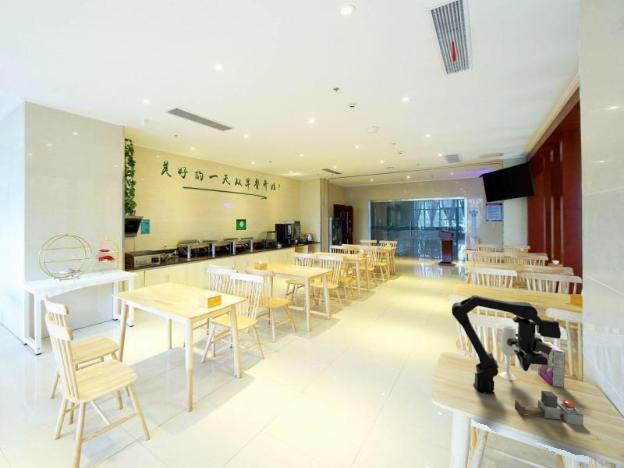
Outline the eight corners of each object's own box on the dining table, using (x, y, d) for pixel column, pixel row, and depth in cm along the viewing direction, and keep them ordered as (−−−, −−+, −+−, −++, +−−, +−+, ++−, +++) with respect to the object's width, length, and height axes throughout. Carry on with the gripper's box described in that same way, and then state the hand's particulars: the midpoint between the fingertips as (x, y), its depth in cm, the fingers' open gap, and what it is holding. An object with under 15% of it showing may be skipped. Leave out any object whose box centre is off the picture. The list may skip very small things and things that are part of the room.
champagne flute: (517, 381, 129) (519, 330, 128) (500, 378, 132) (502, 328, 131) (514, 374, 135) (516, 325, 134) (498, 371, 138) (499, 323, 137)
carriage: (544, 417, 104) (545, 396, 104) (537, 409, 108) (538, 389, 108) (560, 419, 103) (560, 398, 103) (552, 411, 108) (552, 390, 107)
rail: (521, 415, 106) (521, 406, 105) (514, 408, 110) (515, 399, 110) (564, 420, 103) (565, 411, 103) (556, 412, 107) (557, 404, 107)
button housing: (567, 423, 102) (567, 412, 102) (554, 410, 109) (554, 400, 108) (583, 425, 101) (583, 414, 101) (569, 412, 108) (569, 402, 107)
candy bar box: (537, 373, 136) (538, 340, 135) (548, 374, 135) (550, 341, 134) (551, 386, 125) (553, 350, 124) (564, 388, 124) (566, 351, 123)
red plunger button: (566, 419, 103) (566, 405, 103) (559, 412, 107) (560, 399, 107) (577, 420, 103) (577, 406, 102) (570, 413, 106) (570, 400, 106)
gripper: (564, 345, 104) (563, 385, 105) (534, 327, 123) (533, 361, 123) (531, 342, 106) (530, 382, 107) (506, 325, 125) (505, 359, 125)
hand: (525, 370), depth 115 cm, fingers closed
